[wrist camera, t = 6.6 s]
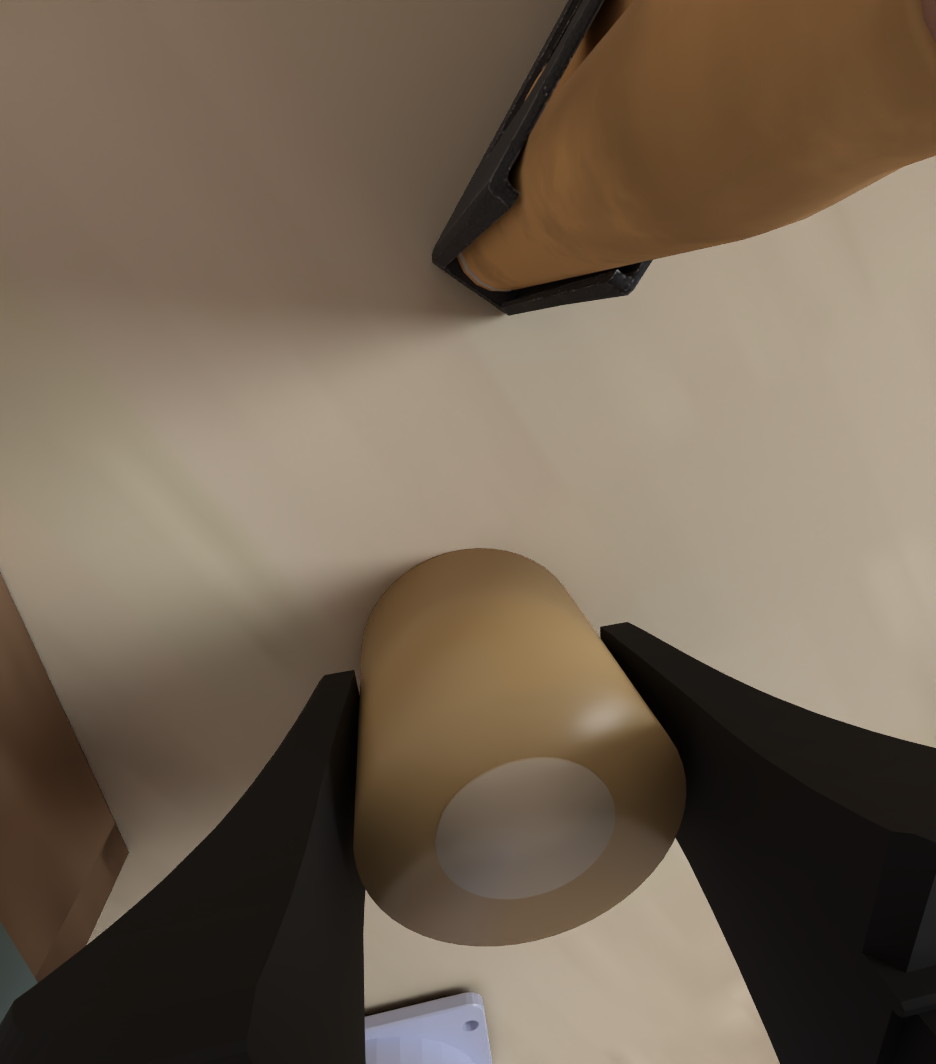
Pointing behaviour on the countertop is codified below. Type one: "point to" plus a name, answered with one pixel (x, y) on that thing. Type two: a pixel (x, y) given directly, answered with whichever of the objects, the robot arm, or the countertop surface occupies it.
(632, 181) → the ammunition clip
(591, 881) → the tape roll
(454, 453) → the countertop surface
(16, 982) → the lid
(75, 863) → the walnut box
